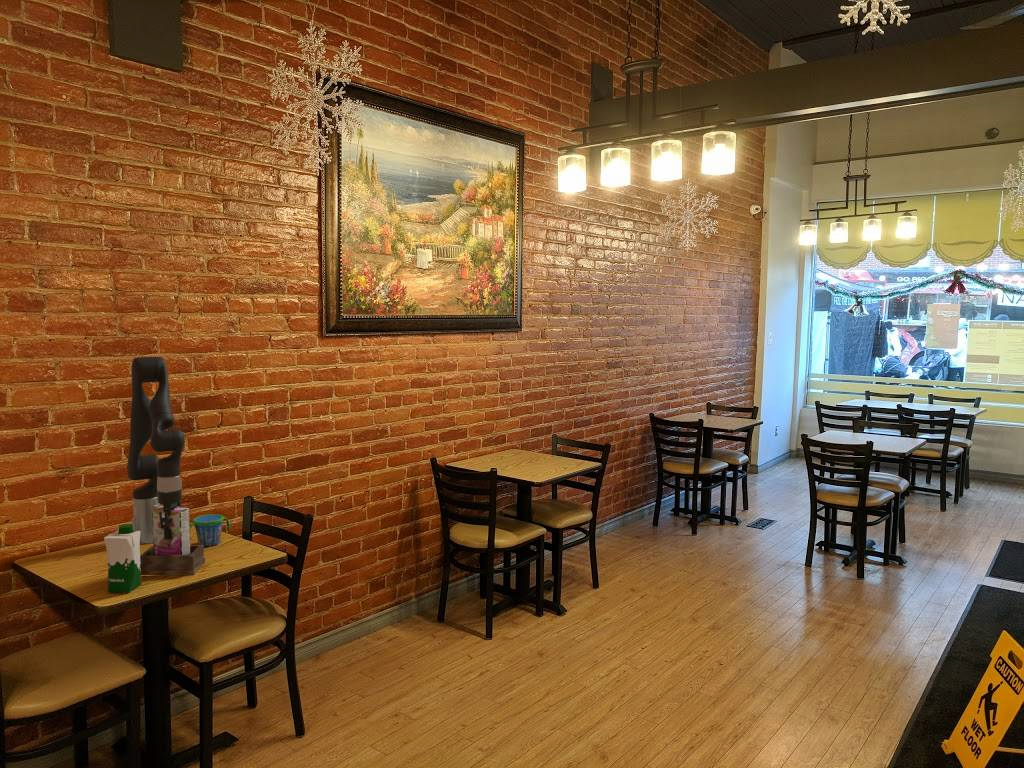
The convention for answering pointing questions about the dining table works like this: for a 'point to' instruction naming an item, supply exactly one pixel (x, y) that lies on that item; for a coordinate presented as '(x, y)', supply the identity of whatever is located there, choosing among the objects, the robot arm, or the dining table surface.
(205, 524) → the snack cup
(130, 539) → the milk carton
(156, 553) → the candy bar box
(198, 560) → the slot holder
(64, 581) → the dining table surface
